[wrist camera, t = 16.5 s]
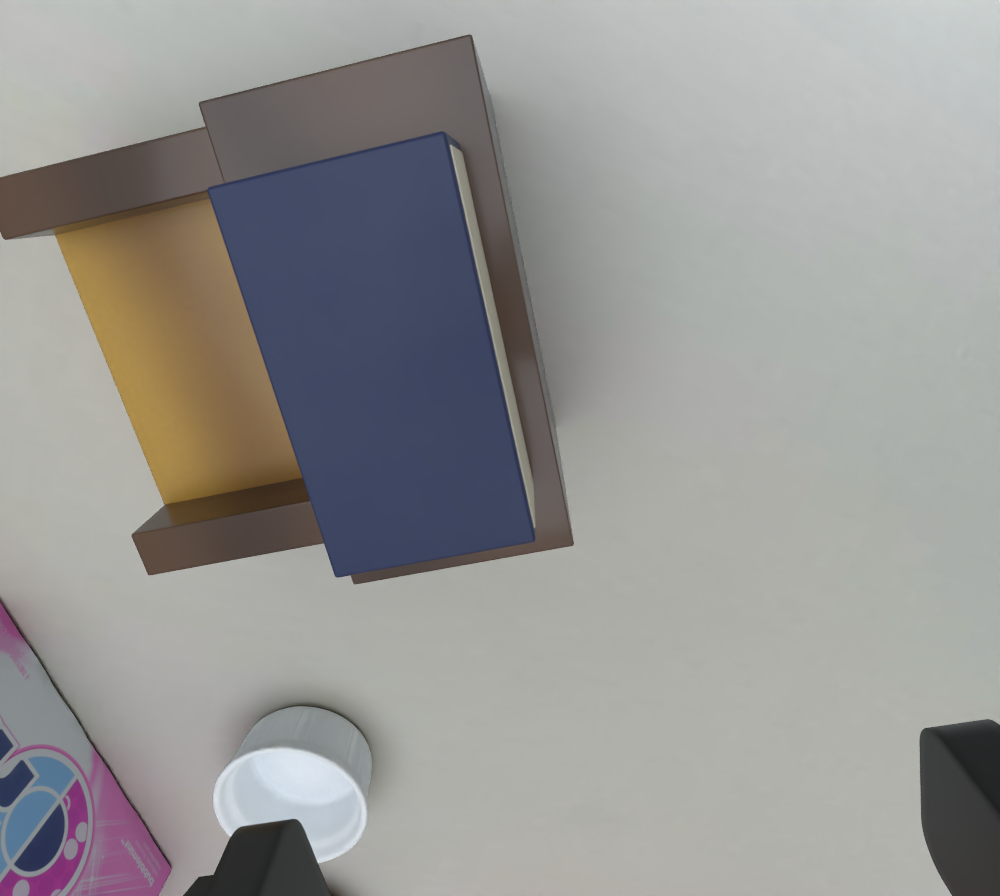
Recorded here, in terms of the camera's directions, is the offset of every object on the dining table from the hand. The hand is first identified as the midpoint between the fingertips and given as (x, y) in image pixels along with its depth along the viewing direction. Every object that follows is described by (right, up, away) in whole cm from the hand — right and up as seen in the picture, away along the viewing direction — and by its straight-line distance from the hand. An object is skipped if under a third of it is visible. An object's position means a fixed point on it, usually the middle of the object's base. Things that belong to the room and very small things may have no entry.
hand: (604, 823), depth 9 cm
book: (-4, +8, +13) cm, 16 cm away
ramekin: (-13, -14, +36) cm, 41 cm away
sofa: (-9, +12, +26) cm, 30 cm away
